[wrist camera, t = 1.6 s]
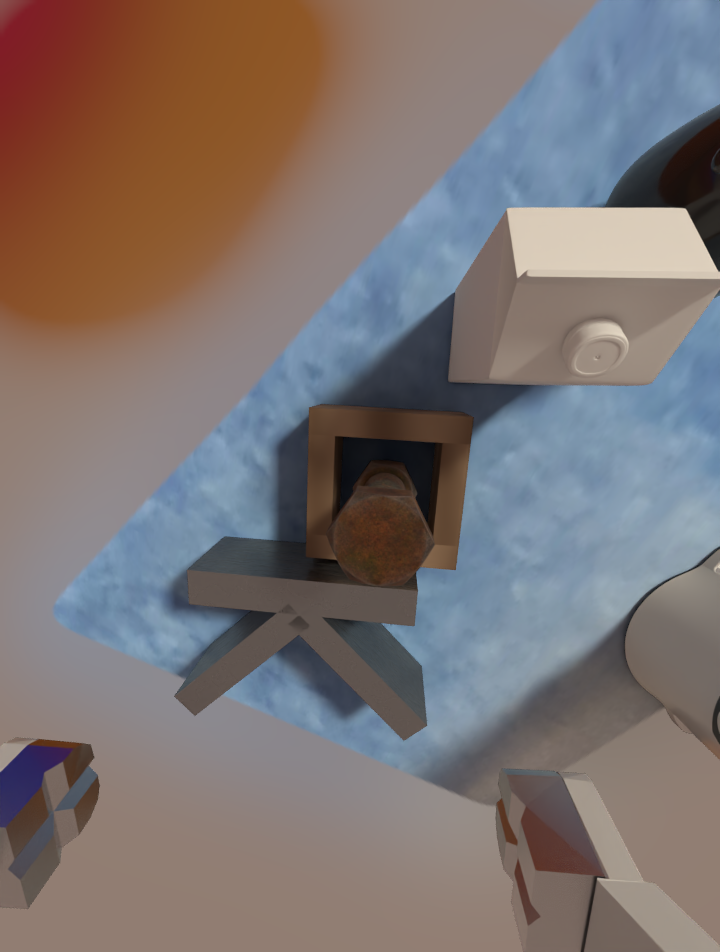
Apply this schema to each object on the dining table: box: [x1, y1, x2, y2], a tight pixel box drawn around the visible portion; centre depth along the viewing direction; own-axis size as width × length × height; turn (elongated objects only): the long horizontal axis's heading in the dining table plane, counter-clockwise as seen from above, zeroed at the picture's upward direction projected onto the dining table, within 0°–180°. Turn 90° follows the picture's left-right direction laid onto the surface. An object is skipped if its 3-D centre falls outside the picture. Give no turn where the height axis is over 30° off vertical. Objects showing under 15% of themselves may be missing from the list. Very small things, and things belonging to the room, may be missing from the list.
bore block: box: [306, 404, 474, 570], centre depth 33 cm, size 12×12×5 cm
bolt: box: [326, 460, 435, 586], centre depth 28 cm, size 6×5×15 cm
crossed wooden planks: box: [174, 537, 427, 740], centre depth 35 cm, size 22×14×7 cm, turn 87°
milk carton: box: [448, 208, 720, 386], centre depth 22 cm, size 7×7×19 cm
